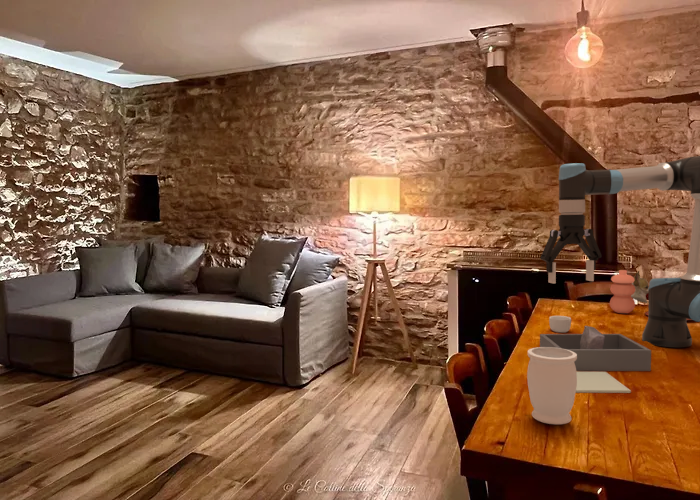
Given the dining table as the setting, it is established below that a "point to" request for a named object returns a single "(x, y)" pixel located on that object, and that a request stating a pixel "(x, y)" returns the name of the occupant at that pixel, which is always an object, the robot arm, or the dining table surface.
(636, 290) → the ceramic sculpture
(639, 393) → the dining table surface
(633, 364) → the access frame
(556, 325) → the teacup
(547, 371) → the jar
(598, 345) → the stone block
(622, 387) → the board
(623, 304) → the ceramic vessels
